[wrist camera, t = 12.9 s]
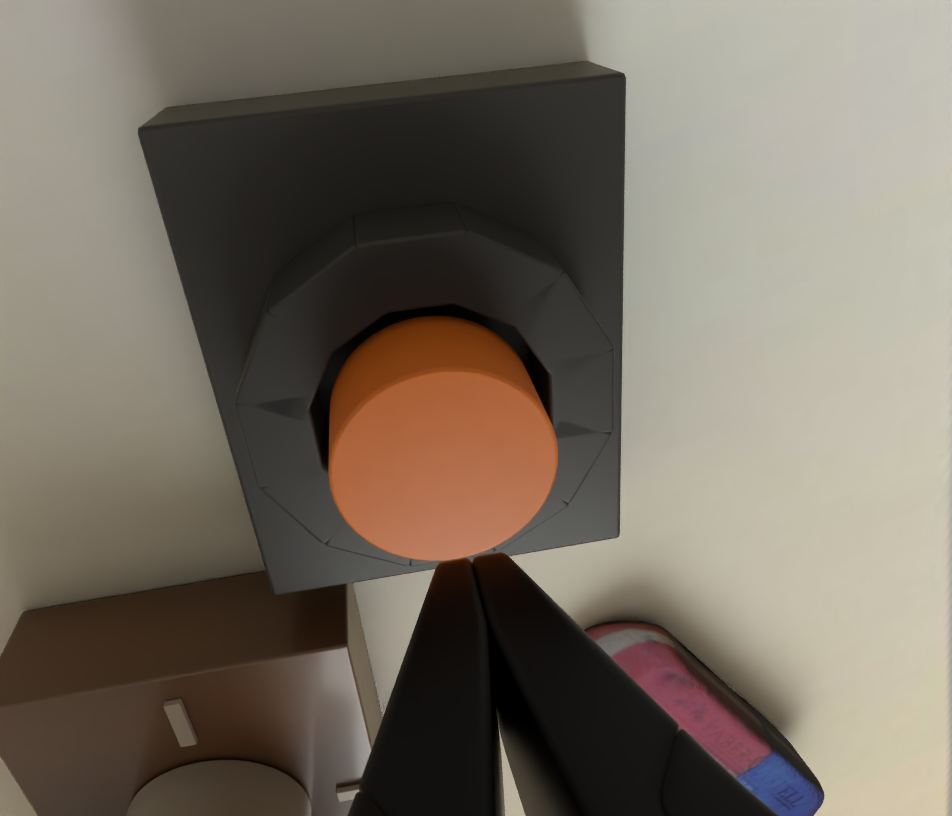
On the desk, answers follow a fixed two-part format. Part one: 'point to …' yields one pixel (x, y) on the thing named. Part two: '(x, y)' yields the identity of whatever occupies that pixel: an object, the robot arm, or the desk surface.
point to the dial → (221, 792)
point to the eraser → (713, 715)
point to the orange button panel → (400, 276)
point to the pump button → (438, 440)
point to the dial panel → (187, 692)
